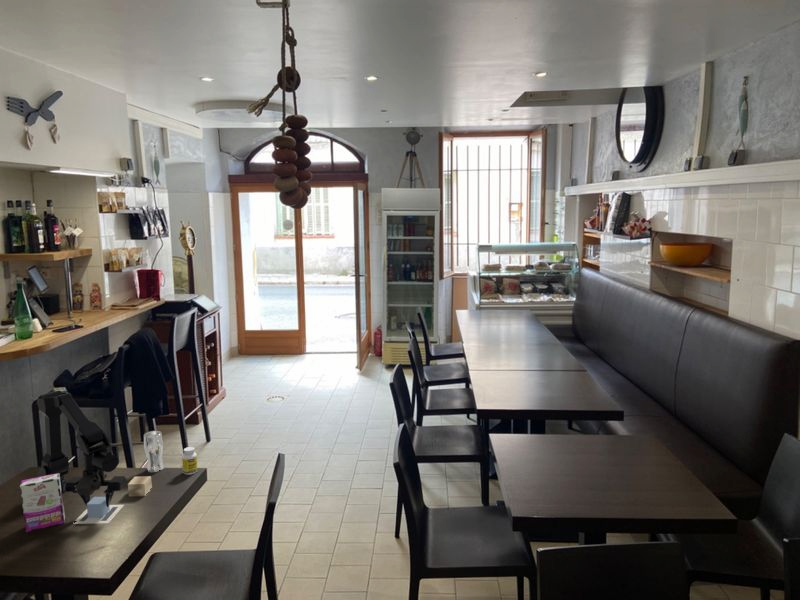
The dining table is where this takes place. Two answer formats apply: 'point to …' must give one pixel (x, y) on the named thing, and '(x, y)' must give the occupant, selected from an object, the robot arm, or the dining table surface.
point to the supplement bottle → (189, 461)
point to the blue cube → (97, 507)
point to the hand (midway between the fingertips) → (98, 506)
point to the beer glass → (154, 450)
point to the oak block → (140, 486)
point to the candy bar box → (42, 502)
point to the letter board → (106, 519)
